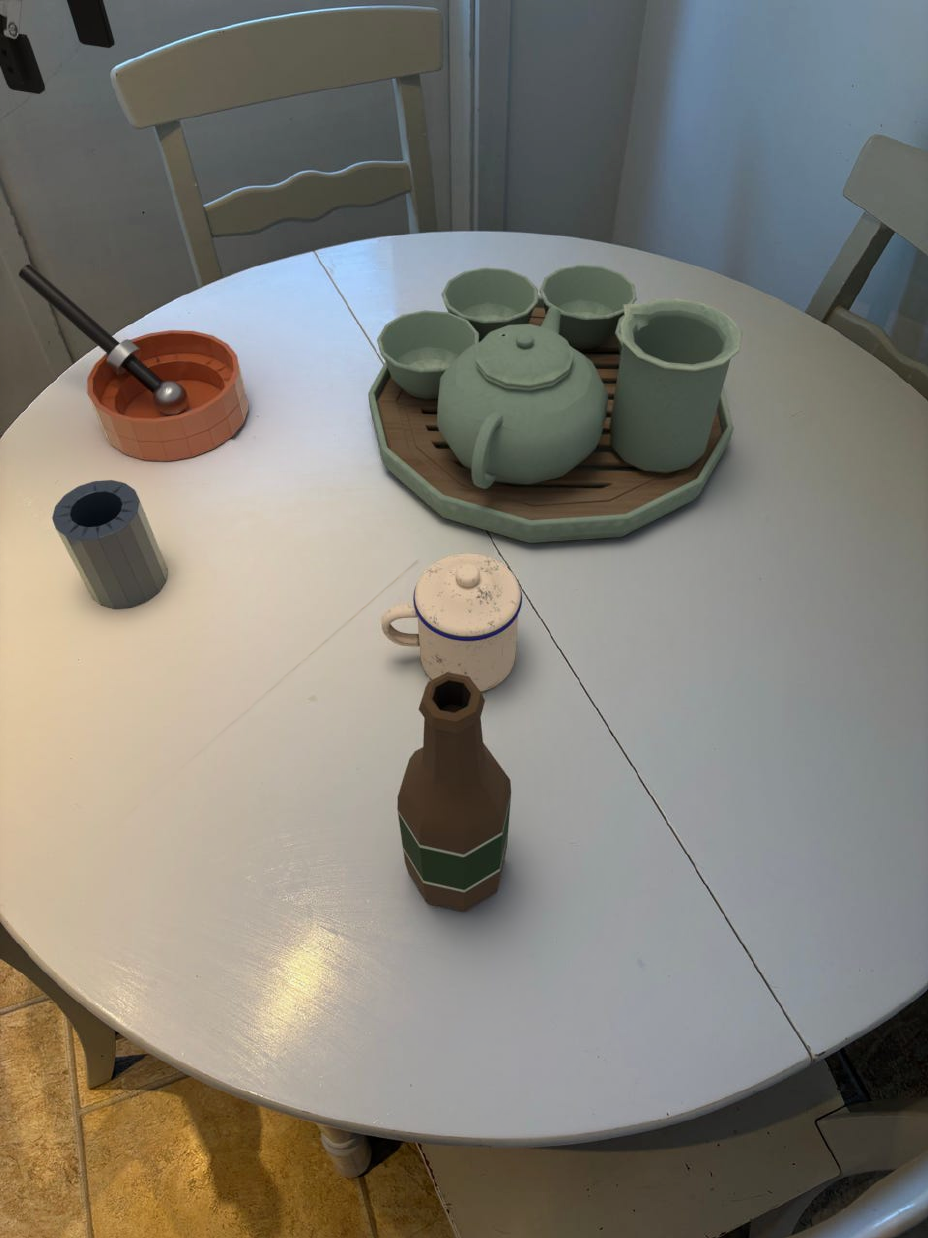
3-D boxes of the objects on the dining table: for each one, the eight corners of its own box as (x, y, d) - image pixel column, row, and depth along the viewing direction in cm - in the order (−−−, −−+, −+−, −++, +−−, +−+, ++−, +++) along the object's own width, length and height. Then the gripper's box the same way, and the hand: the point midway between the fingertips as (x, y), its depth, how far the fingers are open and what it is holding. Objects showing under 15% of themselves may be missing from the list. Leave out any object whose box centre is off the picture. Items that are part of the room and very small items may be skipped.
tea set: (696, 321, 113) (726, 192, 100) (749, 554, 88) (798, 423, 75) (385, 316, 114) (375, 188, 101) (351, 546, 89) (332, 415, 76)
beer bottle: (446, 801, 72) (437, 618, 53) (526, 854, 69) (547, 681, 50) (385, 876, 68) (353, 708, 49) (468, 936, 65) (467, 782, 46)
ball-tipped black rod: (171, 427, 101) (13, 290, 98) (194, 405, 103) (39, 269, 99) (173, 414, 98) (9, 271, 94) (196, 392, 99) (36, 250, 96)
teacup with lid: (513, 614, 84) (518, 528, 75) (522, 695, 78) (529, 612, 69) (385, 620, 83) (375, 534, 74) (386, 702, 78) (374, 620, 69)
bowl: (75, 423, 101) (56, 380, 96) (187, 356, 109) (174, 313, 104) (166, 486, 95) (151, 442, 90) (278, 410, 102) (269, 366, 98)
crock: (75, 586, 86) (35, 513, 78) (136, 542, 90) (105, 468, 82) (122, 624, 83) (86, 552, 75) (184, 578, 87) (156, 504, 79)
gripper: (7, -242, 65) (86, 24, 79) (-168, -192, 55) (-43, 103, 69) (94, -236, 64) (159, 34, 77) (-69, -183, 54) (38, 116, 67)
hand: (64, 66), depth 73 cm, fingers open, 9 cm apart
